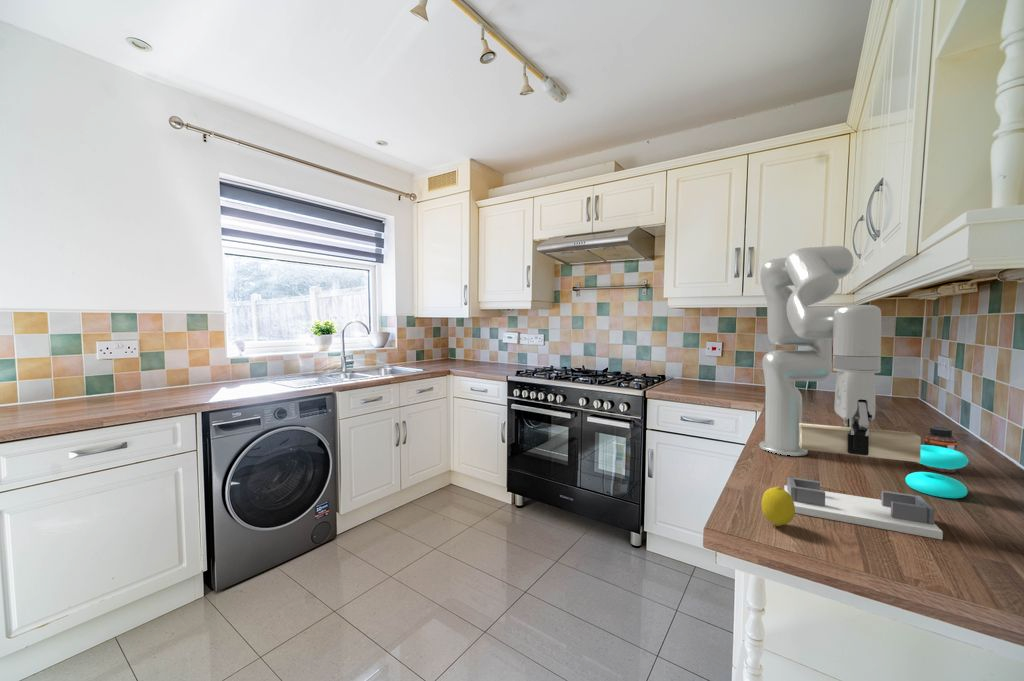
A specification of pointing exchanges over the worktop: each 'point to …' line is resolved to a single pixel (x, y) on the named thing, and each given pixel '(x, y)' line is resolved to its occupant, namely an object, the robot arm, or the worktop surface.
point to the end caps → (899, 502)
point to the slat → (879, 442)
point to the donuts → (938, 482)
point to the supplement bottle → (941, 443)
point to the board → (864, 514)
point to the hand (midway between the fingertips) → (855, 450)
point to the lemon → (778, 506)
